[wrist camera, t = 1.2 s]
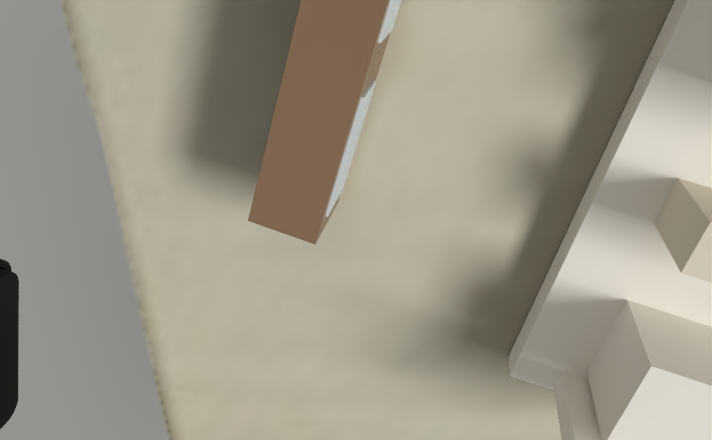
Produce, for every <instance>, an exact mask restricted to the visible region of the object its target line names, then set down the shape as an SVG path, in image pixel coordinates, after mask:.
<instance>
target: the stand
mask: <svg viewBox="0 0 712 440" xmlns="http://www.w3.org/2000/svg"><path fill="white" fill-rule="evenodd" d="M509 376H510V377H513V378H516V379H519V380H522V381H525V382H528V383H531V384H534V385H537V386H540V387H543V388H546V389H549V390H552V391H555V395H556V402H557V409H558V416H559V423H560V430H561V437H562V440H712V0H675V1H674V3H673V5H672V8H671V10H670V12H669V14H668V16H667V18H666V20H665V23H664V25H663V27H662V29H661V31H660V33H659V35H658V38H657V40H656V42H655V44H654V46H653V48H652V50H651V53H650V55H649V57H648V59H647V61H646V63H645V65H644V68H643V70H642V72H641V74H640V76H639V78H638V80H637V82H636V85H635V87H634V89H633V91H632V93H631V95H630V97H629V100H628V102H627V104H626V106H625V108H624V110H623V112H622V115H621V117H620V119H619V121H618V123H617V125H616V127H615V130H614V132H613V134H612V136H611V138H610V140H609V142H608V145H607V147H606V149H605V151H604V153H603V155H602V157H601V160H600V162H599V164H598V166H597V168H596V170H595V172H594V175H593V177H592V179H591V181H590V183H589V185H588V187H587V190H586V192H585V194H584V196H583V198H582V200H581V202H580V205H579V207H578V209H577V211H576V213H575V215H574V217H573V220H572V222H571V224H570V226H569V228H568V230H567V232H566V235H565V237H564V239H563V241H562V243H561V245H560V247H559V250H558V252H557V254H556V256H555V258H554V260H553V262H552V265H551V267H550V269H549V271H548V273H547V275H546V277H545V280H544V282H543V284H542V286H541V288H540V290H539V292H538V295H537V297H536V299H535V301H534V303H533V305H532V307H531V310H530V312H529V314H528V316H527V318H526V320H525V322H524V325H523V327H522V329H521V331H520V333H519V335H518V337H517V340H516V342H515V344H514V346H513V348H512V350H511V352H510V355H509Z"/></svg>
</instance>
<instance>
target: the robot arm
mask: <svg viewBox="0 0 712 440" xmlns="http://www.w3.org/2000/svg"><path fill="white" fill-rule="evenodd" d="M18 285H19V281H18V276H17V275H16V274H15V273H13V272H12V271H11V266H10V265H9V263H8V262H7V261H5V260H2V259H0V429H1V428H2V427H3V425H5V424H6V423H7V421H8V420H9V419H10V418H11V416H12V414H13V413H14V410H15V408H16V405H17V402H18V302H19V301H18V300H19V295H18V293H19V292H18V290H19V286H18Z"/></svg>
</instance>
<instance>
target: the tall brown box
mask: <svg viewBox="0 0 712 440" xmlns="http://www.w3.org/2000/svg"><path fill="white" fill-rule="evenodd" d="M400 3H401V0H301V2H300V6H299V10H298V14H297V19H296V23H295V27H294V31H293V35H292V39H291V44H290V48H289V52H288V56H287V60H286V64H285V69H284V73H283V77H282V81H281V85H280V89H279V94H278V98H277V102H276V106H275V110H274V115H273V119H272V123H271V127H270V131H269V135H268V140H267V144H266V148H265V152H264V156H263V160H262V165H261V169H260V173H259V177H258V181H257V185H256V190H255V194H254V198H253V202H252V206H251V210H250V215H249V219H248V221H250V222H253V223H256V224H259V225H262V226H264V227H267V228H270V229H273V230H276V231H279V232H281V233H284V234H287V235H290V236H293V237H296V238H298V239H301V240H304V241H307V242H310V243H313V244H316V242H317V240H318V238H319V237H320V235H321V233H322V231H323V229H324V227H325V225H326V223H327V222H328V220H329V218H330V216H331V214H332V212H333V210H334V209H335V207H336V205H337V203H338V200H339V197H340V194H341V192H342V190H343V188H344V184H345V181H346V178H347V175H348V171H349V168H350V165H351V162H352V158H353V155H354V152H355V149H356V145H357V142H358V139H359V136H360V133H361V129H362V126H363V123H364V120H365V116H366V113H367V110H368V107H369V103H370V100H371V97H372V94H373V90H374V87H375V84H376V81H377V79H376V77H377V74H378V71H379V67H380V64H381V61H382V58H383V54H384V51H385V48H386V45H387V41H388V38H389V35H390V32H391V31H392V29H393V26H394V22H395V19H396V16H397V13H398V10H399V6H400Z"/></svg>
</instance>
